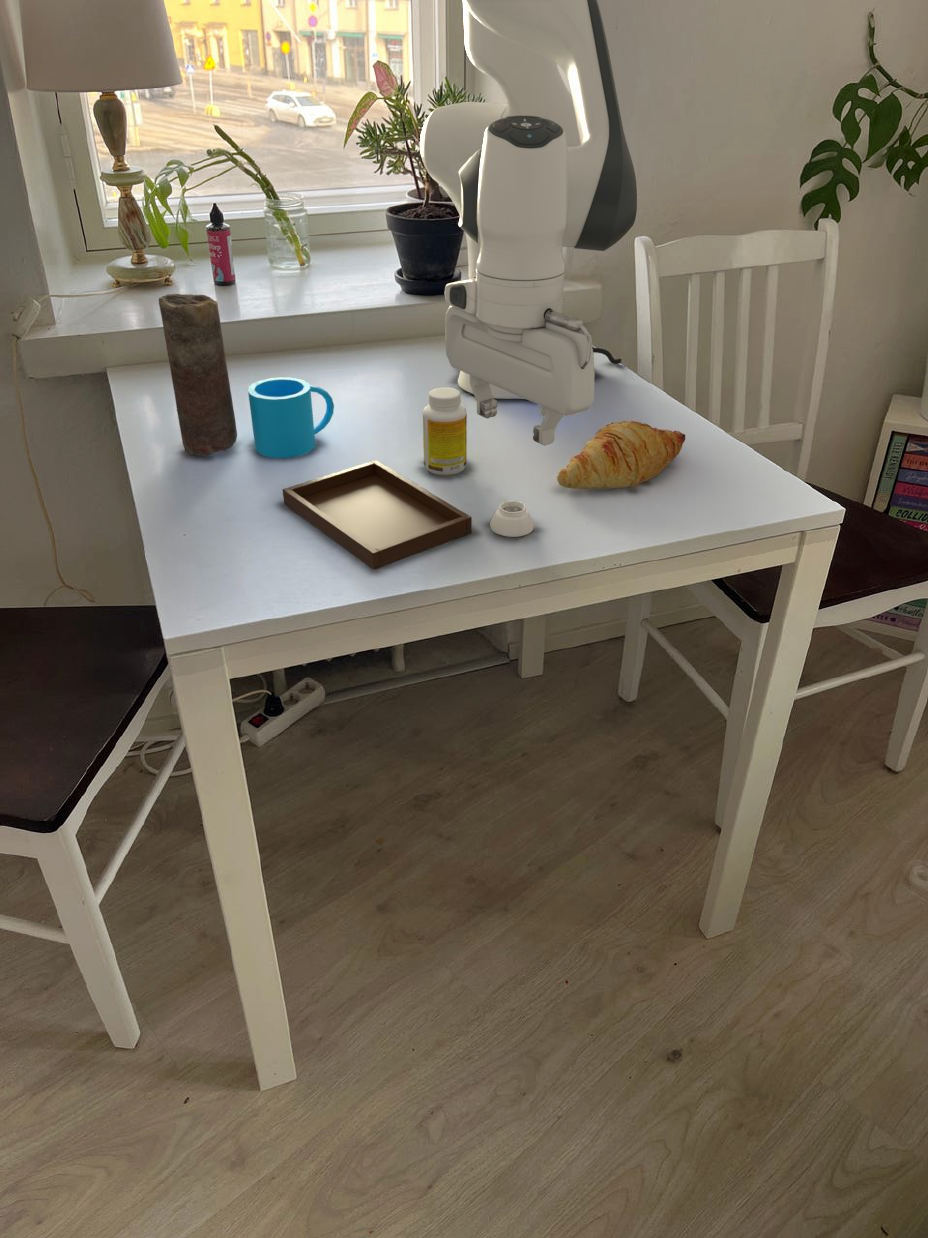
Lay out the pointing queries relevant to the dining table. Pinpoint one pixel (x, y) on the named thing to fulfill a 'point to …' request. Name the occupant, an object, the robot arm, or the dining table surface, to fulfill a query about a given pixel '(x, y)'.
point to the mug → (285, 416)
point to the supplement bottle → (445, 432)
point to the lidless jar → (512, 520)
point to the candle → (199, 372)
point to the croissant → (621, 456)
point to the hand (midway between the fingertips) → (514, 428)
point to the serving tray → (377, 513)
